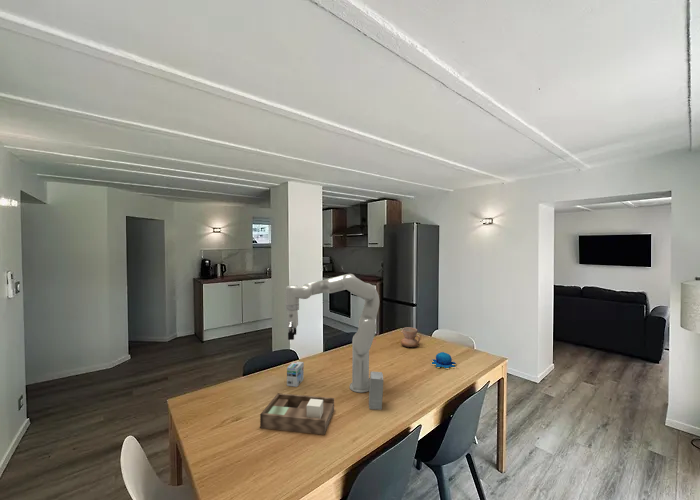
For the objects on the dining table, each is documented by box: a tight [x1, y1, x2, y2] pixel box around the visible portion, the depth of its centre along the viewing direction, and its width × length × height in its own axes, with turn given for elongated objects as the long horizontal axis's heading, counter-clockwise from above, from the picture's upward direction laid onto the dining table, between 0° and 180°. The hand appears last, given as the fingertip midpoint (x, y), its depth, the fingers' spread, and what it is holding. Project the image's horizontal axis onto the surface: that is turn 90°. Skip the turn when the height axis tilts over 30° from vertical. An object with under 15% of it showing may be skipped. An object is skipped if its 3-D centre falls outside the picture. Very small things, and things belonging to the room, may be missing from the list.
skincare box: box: [368, 371, 384, 411], centre depth 148 cm, size 8×7×16 cm
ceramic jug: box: [400, 326, 421, 348], centre depth 242 cm, size 18×14×14 cm
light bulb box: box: [286, 360, 305, 388], centre depth 173 cm, size 11×7×11 cm, turn 168°
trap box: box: [259, 392, 335, 436], centre depth 136 cm, size 29×19×6 cm, turn 81°
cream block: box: [307, 399, 323, 419], centre depth 131 cm, size 6×6×6 cm
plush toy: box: [431, 351, 457, 369], centre depth 203 cm, size 17×17×8 cm
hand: (292, 337), depth 167 cm, fingers open, 9 cm apart
